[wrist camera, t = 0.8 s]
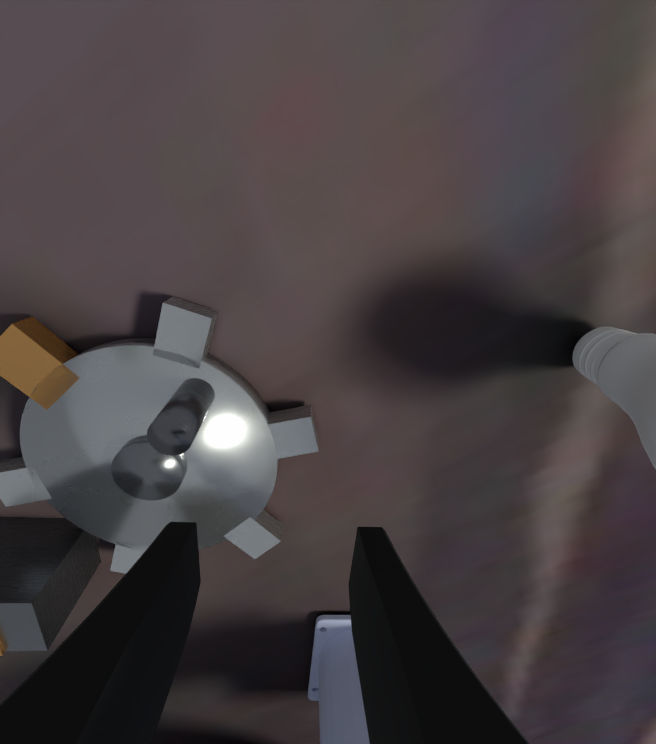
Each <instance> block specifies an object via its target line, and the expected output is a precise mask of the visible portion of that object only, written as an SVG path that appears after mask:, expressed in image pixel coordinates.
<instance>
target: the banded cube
mask: <svg viewBox="0 0 656 744" xmlns="http://www.w3.org/2000/svg"><path fill="white" fill-rule="evenodd" d="M100 563H101V560H100V555H99V550H98V546H97V541H96V536H94V535H92V534H90V533H88V532H86V531H85V530H83V529H81V528H79V527H78V526H76V525H75V524H73V523H72V522H70V521H69V520H68V519H63V518H26V517H0V656H2V655H3V654H4V652H5V651H48V649H49V647H50V646H51V644H52V642H53V641H54V639H55V637H56V636H57V634H58V632H59V631H60V629H61V627H62V626H63V624H64V622H65V621H66V619H67V617H68V616H69V614H70V612H71V611H72V609H73V607H74V606H75V604H76V602H77V601H78V599H79V597H80V596H81V594H82V592H83V591H84V589H85V588H86V586H87V584H88V583H89V581H90V579H91V578H92V576H93V574H94V573H95V571H96V569H97V568H98V566H99V564H100Z"/></svg>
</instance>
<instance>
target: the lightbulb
mask: <svg viewBox="0 0 656 744" xmlns="http://www.w3.org/2000/svg"><path fill="white" fill-rule="evenodd" d="M572 360H573V365H574V367H575V368H576V370H577V371H578V372H580V373H581V374H583V375H584V376H585V377H586V378H588V379H590V380H591V381H592V382H594V383H596V384H597V385H598V386H599V388H600V390H601V391H602V392H603V394H604V395H605V396H607V397H608V398H609V399H611V400H612V401H614V402H615V403H616V404H618V405H619V406H620V407H621V408H622V409H623V410H624V411H625V412H626V413H627V414H628V415H629V417H630V418H631V419H632V421H633V422H634V424H635V426H636V429H637V432H638V434H639V437H640V440H641V443H642V445H643V447H644V449H645V451H646V453H647V455H648V457H649V459H650V461H651V463H652V465H653V466H654V468H655V469H656V334H652V333H641V334H636V333H633V332H628V331H626V330H622V329H617V328H613V327H599V328H596V329H594V330H592V331H590V332H588V333H587V334H585V335H584V336H583V337H582V338H581V339H580V340H579V341H578V343H577V344H576V346H575V348H574V351H573V357H572Z"/></svg>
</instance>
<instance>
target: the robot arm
mask: <svg viewBox="0 0 656 744" xmlns="http://www.w3.org/2000/svg"><path fill="white" fill-rule="evenodd" d="M200 582H201V581H200V566H199V551H198V537H197V522H170V523H168V524H167V525H166V526H165V527H164V528H163V530H162V531H161V532H160V533H159V535H158V536H157V537H156V538H155V540H154V541H153V542H152V543H151V545H150V546H149V547H148V548H147V549H146V551H145V552H144V553H143V554H142V555H141V557H140V558H139V559H138V560H137V561H136V563H135V564H134V565H133V566H132V567H131V568H130V570H129V571H128V572H127V573H126V574H125V576H124V577H123V578H122V579H121V580H120V581H119V582H118V583H117V585H116V586H115V587H114V588H113V589H112V590H111V591H110V592H109V594H108V595H107V596H106V597H105V598H104V599H103V600H102V601H101V603H100V604H99V605H98V606H97V607H96V608H95V609H94V610H93V611H92V612H91V614H90V615H89V616H88V617H87V618H86V619H85V620H84V621H83V622H82V623H81V624H80V625H79V626H78V627H77V628H76V629H75V630H74V631H73V633H72V634H71V635H70V636H69V637H68V638H67V639H66V640H65V641H64V642H63V643H62V644H61V645H60V646H59V647H58V648H57V649H56V650H55V651H54V652H53V653H52V654H51V655H50V656H49V657H48V659H47V660H46V661H45V662H44V663H43V664H42V665H41V666H40V667H39V668H38V669H37V670H35V671H34V672H33V673H32V674H31V675H30V676H29V677H28V678H27V679H26V680H25V681H24V682H23V683H22V684H21V685H20V686H19V687H18V688H17V689H16V690H15V691H14V692H13V693H12V694H11V695H10V696H9V697H8V698H7V699H6V700H5V701H4V702H2V703H1V704H0V744H152V741H153V738H154V735H155V732H156V729H157V726H158V723H159V720H160V717H161V714H162V711H163V708H164V705H165V702H166V699H167V696H168V693H169V690H170V687H171V684H172V681H173V678H174V675H175V672H176V669H177V666H178V663H179V660H180V657H181V654H182V651H183V648H184V645H185V642H186V639H187V636H188V633H189V630H190V625H191V621H192V617H193V613H194V609H195V604H196V600H197V596H198V591H199V587H200ZM349 598H350V613H351V615H320V616H319V617H317V619H316V625H315V634H314V642H313V651H312V660H311V668H310V677H309V686H308V699H310V700H312V701H319V719H320V744H529V743H528V741H527V740H526V739H525V738H524V737H523V735H522V734H521V733H520V732H519V730H518V729H517V728H516V727H515V726H514V724H513V723H512V722H511V721H510V719H509V718H508V717H507V715H506V714H505V713H504V712H503V710H502V709H501V708H500V707H499V705H498V704H497V703H496V701H495V700H494V699H493V698H492V696H491V695H490V694H489V692H488V691H487V690H486V688H485V687H484V686H483V684H482V683H481V682H480V680H479V679H478V678H477V676H476V675H475V673H474V672H473V671H472V669H471V668H470V667H469V665H468V664H467V662H466V661H465V660H464V658H463V657H462V655H461V654H460V652H459V651H458V650H457V648H456V647H455V645H454V644H453V642H452V641H451V640H450V638H449V637H448V635H447V634H446V632H445V631H444V629H443V628H442V626H441V625H440V623H439V622H438V620H437V619H436V617H435V615H434V614H433V612H432V611H431V609H430V608H429V606H428V604H427V603H426V601H425V600H424V598H423V597H422V595H421V593H420V592H419V590H418V588H417V587H416V585H415V584H414V582H413V580H412V579H411V577H410V575H409V573H408V572H407V570H406V568H405V566H404V565H403V563H402V561H401V559H400V558H399V556H398V554H397V552H396V550H395V549H394V547H393V545H392V543H391V541H390V539H389V537H388V535H387V533H386V531H385V530H384V529H383V528H382V527H358V528H357V535H356V541H355V547H354V554H353V560H352V566H351V573H350V579H349Z"/></svg>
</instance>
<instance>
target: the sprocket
mask: <svg viewBox="0 0 656 744" xmlns="http://www.w3.org/2000/svg"><path fill="white" fill-rule="evenodd" d="M217 315H218V311H215V310H212V309H209V308H206V307H203V306H200V305H197V304H194V303H191V302H188V301H185V300H182V299H178V298H175V297H171V298H170V299H168V300H166V301H165V302H163V304H162V309H161V314H160V319H159V324H158V330H157V335H156V339H152V338H132V339H123V340H116V341H112V342H108V343H104V344H100V345H98V346H95V347H93V348H90V349H88V350H85V351H84V352H82V353H80V354H78V353H77V352H75V351H74V350H73V349H72V348H70V347H69V346H68V345H67V344H66V343H64V342H63V341H62V340H61V339H59V338H58V337H57V336H56V335H55V334H53V333H52V332H51V331H50V330H48V329H47V328H46V327H45V326H44V325H42V324H41V323H40V322H39V321H37V320H36V319H35V318H34V317H33V316H32V317H29V318H27V319H24V320H21V321H18V322H15V323H13V324H11V325H10V326H9V327H8V329H7V330H6V331H5V332H4V333H3V334H2V335H1V336H0V376H1V377H3V378H4V379H5V380H7V381H8V382H9V383H11V384H12V385H14V386H15V387H16V388H18V389H19V390H20V391H22V392H23V393H24V394H26V395H27V396H29V399H28V401H27V403H26V405H25V408H24V411H23V414H22V418H21V425H20V446H21V451H22V456H23V457H18V458H12V459H7V460H3V461H2V462H0V499H1V500H2V502H3V503H4V505H5V506H6V507H8V506H13V505H19V504H24V503H30V502H36V501H41V500H47V501H48V502H49V503H50V504H51V505H52V506H53V508H55V509H56V510H57V511H58V512H59V513H60V514H61V515H63V516H64V517H65V518H66V519H68V520H69V521H70V522H72V523H73V524H75V525H76V526H78V527H79V528H81V529H83V530H85V531H86V532H88V533H90V534H92V535H94V536H96V537H98V538H100V539H103V540H105V541H108V542H111V543H113V544H116V545H115V550H114V555H113V560H112V565H111V570H110V571H115V572H120V573H125V574H126V573H127V572H128V571H129V570H130V568H131V567H132V566H133V565H134V564H135V563H136V561H137V560H138V559H139V558H140V557H141V555H142V554H143V553H144V552H145V551H146V549H147V548H148V547H149V546H150V545H151V543H152V542H153V541H154V540H155V538H156V537H157V536H158V535H159V533H160V532H161V531H162V530H163V528H164V527H165V526H166V525H167V524H168V523H170V522H197V537H198V549H202V548H206V547H209V546H212V545H215V544H218V543H221V542H223V541H225V540H227V539H228V540H230V541H231V542H232V543H234V544H235V545H236V546H238V547H239V548H240V549H242V550H243V551H244V552H246V553H247V554H249V555H250V556H251V557H253V558H254V559H256V558H257V557H259V556H260V555H262V554H263V553H265V552H266V551H267V550H269V549H270V548H272V547H273V546H275V545H276V544H278V543H279V542H281V534H282V524H281V523H280V522H279V521H277V520H276V519H275V518H274V517H272V516H271V515H270V514H269V513H267V512H266V511H265V510H264V507H265V506H266V504H267V503H268V500H269V498H270V496H271V494H272V492H273V488H274V485H275V482H276V475H277V467H278V459H279V458H284V457H290V456H295V455H301V454H307V453H312V452H318V451H319V450H318V436H317V431H316V427H315V422H314V418H313V413H312V409H311V405H307V406H301V407H296V408H290V409H285V410H279V411H274V412H269V410H268V408H267V406H266V404H265V402H264V401H263V399H262V398H261V397H260V395H259V394H258V392H257V391H256V390H255V389H254V388H253V387H252V385H251V384H250V383H249V382H248V381H247V380H246V379H245V378H244V377H243V376H241V375H240V374H239V373H238V372H237V371H235V370H234V369H233V368H232V367H230V366H229V365H227V364H226V363H224V362H223V361H221V360H220V359H218V358H216V357H214V356H212V355H210V354H208V350H209V346H210V342H211V338H212V335H213V331H214V327H215V323H216V319H217Z"/></svg>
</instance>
